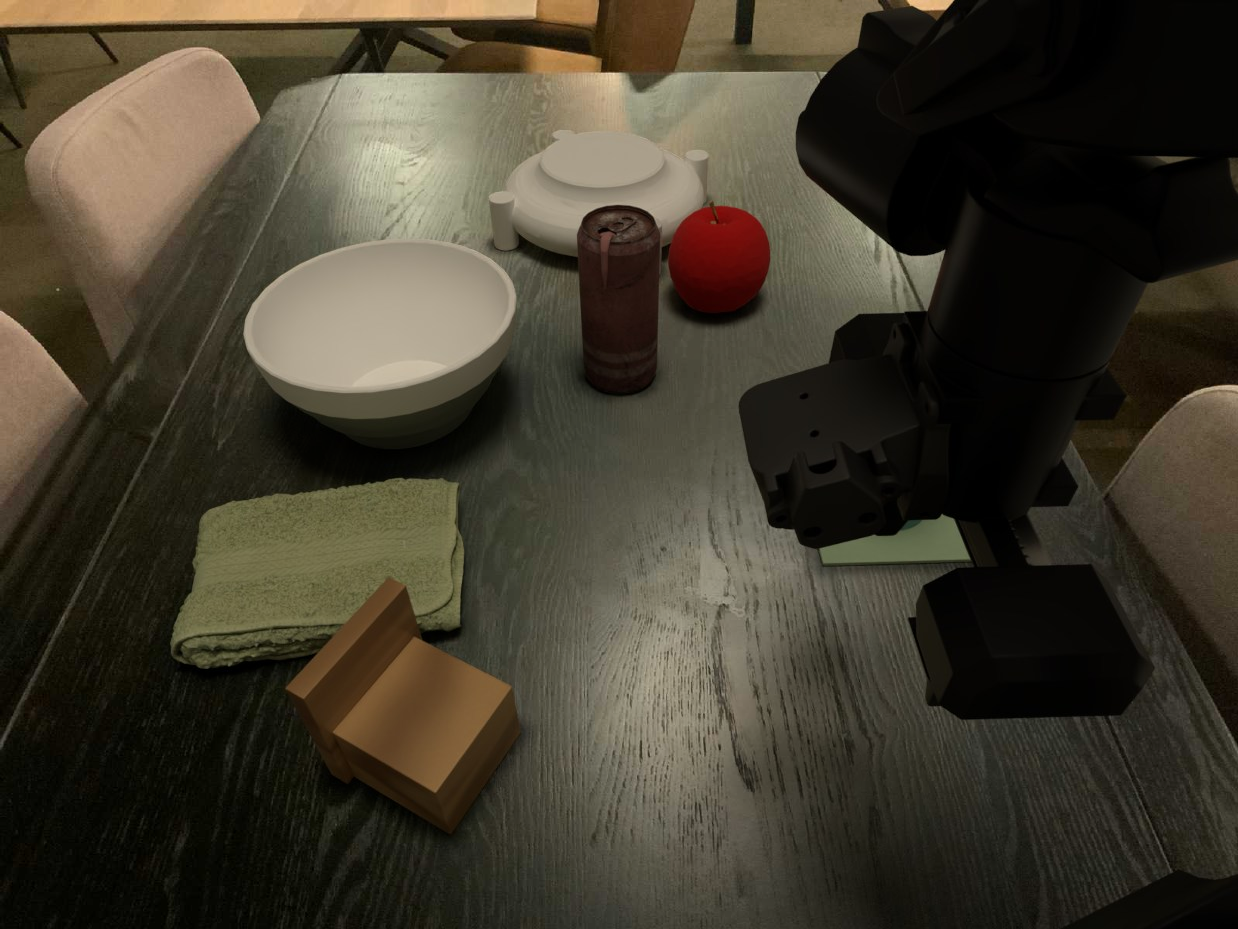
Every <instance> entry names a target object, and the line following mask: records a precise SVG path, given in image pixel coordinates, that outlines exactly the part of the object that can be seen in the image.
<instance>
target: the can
mask: <svg viewBox="0 0 1238 929" xmlns="http://www.w3.org/2000/svg"><path fill="white" fill-rule="evenodd" d="M577 249H578V257H577V265H578V266H577V267H578V283H579V284H578V286H579V305H580V306H579V307H580V324H581V326H580V327H581V344H582V345H581V346H582V364H583V372H584V376H585V377H586V378H587V380H588V381H589V382H590V383H591V385H593V386H594V387H595V388H597V389H599V390H600V391H603V392H605V393H609V394H618V395H622V394H623V395H624V394H632V393H633V392H638V391H640V390H643V388H645V387H647V386H648V385H649V384H650V382H652V380H653V379H654V377H655V376H656V374H657V370H658V345H659V344H658V343H659V339H658V338H659V304H660V303H659V302H660V301H659V299H660V297H659V296H660V275H659V267H660V231H659V229H658V226H657V225H656V222H655V219H654V217H653V216H652V215H651V214H650V213H649V212H648V211H645V210H643V209H641V208H638V207H634V206H630V205H610V206H604V207H600V208H597V209H595V210H593V211H591V212H589V213H588V214H586V215H585V216H584V217H583V219H582V222H581V225H580V227H579V230H578V232H577Z"/></svg>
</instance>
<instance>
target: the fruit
mask: <svg viewBox="0 0 1238 929" xmlns="http://www.w3.org/2000/svg"><path fill="white" fill-rule="evenodd" d="M708 205H709V206H705V207H702V209H699V210H697V211H695V212H693V213H692V214H690V215H689V216H688V217H686V218H685V219H684V220H683V221H682V222H681V224H680V225H679V227H678V228H677V230H676V232H675V234H674V236H673V239H672V242H671V243H670V244H669V249H668V257H667V258H668V259H667V266H668V271H669V276H670V279H671V281H672V284H673V287H674V288H675V290H676V292H677V294H678V295H679V297H680V298H681V300H682V301H683V302H685V304H686V305H687V306H688V307H690V308H691V309H694V310H695V311H697V312H702V313H705V314H718V313H728V312H734V311H736V310H738V309H739V308H741V307H743V306H744V305H747V303H748V302H750V301H751V300H752V299H754V298H755V296H756V295H757V294H758V293H759V291H760V290H761V289H762V287H763V285H764V284H765V282H766V279H767V276H768V274H769V269H770V264H771V245H770V241H769V238H768V234H767V231H766V230H765V228H764V226H763V224H762V223H761V221H760V220H758V218H757V217H756V216H754V215H753V214H751V213H750V212H748V211H746V210H744V209H741V208H740V207H734V206H728V205H715V203H714V200H713V199H711V200H710V201H708Z"/></svg>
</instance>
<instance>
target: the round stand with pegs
mask: <svg viewBox="0 0 1238 929" xmlns="http://www.w3.org/2000/svg"><path fill="white" fill-rule="evenodd" d="M551 137H552V138H551V139H552V143H551V144H549V145H548V146H547V147H546V148H544V150H542V151H540V152H538V153H536V154H533V155H531V156H529V157H528V158H526V159H524V161H522V162H521V163H520V164H519V165H517V166H516V167H515V169H513V171H512V172H511V173H510V174H509V176H508V178H507V179H506V181H505V183H504V187H503V190H501V191H500V190H499V191H495V192H492V193H491V194H490V195H489V196H488V205H489V212H490V219H491V227H492V228H491V229H492V235H493V244H494V247H495V249H498V250H500V251H512V250H514V249H516V248H517V247H519V245H520V238H519V235H520V236H521V237H523V238H524V240H526V241H528V242H530V243H531V244H533V245H534V246H537V247H540V248H542V249H544V250H547V251H549V252H553V253H556V254H559V255H564V256H570V257H574V258H575V257H576V258H578V249H577V232H578V230H579V227H580V225H581V222H582V219H583V217H584V216H585V215H586V214H588V213H589V212H591V211H593V210H595V209H597V208H600V207H604V206H610V205H630V206H634V207H638V208H641V209H643V210H645V211H648V212H649V213H650V214H651V215H652V216H653V217H654V219H655V222H656V225H657V226H658V229H659V231H660V267H659V276H660V275H661V274H662V250H663V249H662V248H663V247H665V246H668V245H671V242H672V239H673V236H674V234H675V232H676V230H677V228H678V227H679V225H680V224H681V222H682V221H683V220H684V219H685V218H686V217H688V216H689V215H690V214H692V213H693V212H695V211H697V210H699V209H702V208H704V207H703V206H704V204H706V202H707V194H708V193H707V192H708V177H709V162H710V160H709V159H710V154H709V152H707V151H705V150H702V149H691V150H688V151H687V152H685V154H684V158H681V157H680V156H678V155H677V154H675V153H673V152H671V151H669V150H667V149H664V148H662V147H660V146H659V145H657V143H655V142H653V141H652V140H650V139H649V138H646V137H644V136H641V135H638V134H634V133H629V132H623V131H618V130H617V131H616V130H615V131H614V130H592V131H585V132H579V133H575V132H574V131H572V130H570V129H558V130H555V131H554V132H552V134H551Z"/></svg>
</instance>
